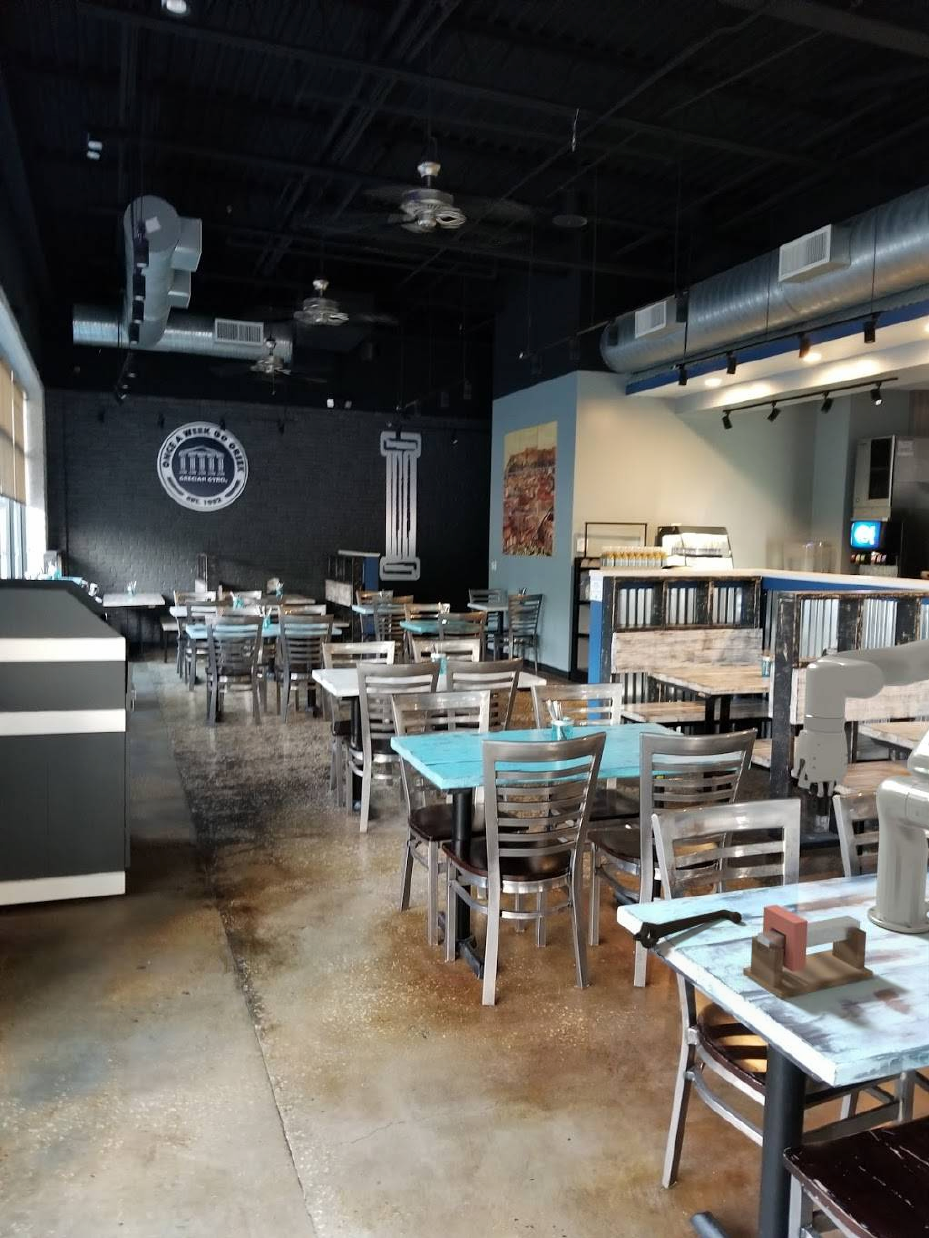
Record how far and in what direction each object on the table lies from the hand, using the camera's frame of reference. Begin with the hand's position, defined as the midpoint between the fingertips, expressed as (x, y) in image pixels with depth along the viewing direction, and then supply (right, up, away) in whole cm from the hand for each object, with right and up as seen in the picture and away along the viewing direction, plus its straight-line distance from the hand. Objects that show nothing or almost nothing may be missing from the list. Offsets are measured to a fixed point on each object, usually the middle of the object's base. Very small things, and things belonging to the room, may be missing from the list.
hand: (819, 814), depth 182 cm
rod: (-6, -22, -12) cm, 26 cm away
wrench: (-25, -27, +6) cm, 37 cm away
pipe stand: (-7, -28, -11) cm, 31 cm away
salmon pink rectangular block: (-12, -24, -14) cm, 30 cm away
